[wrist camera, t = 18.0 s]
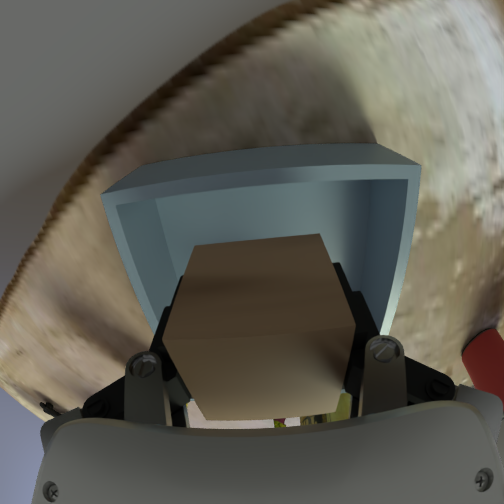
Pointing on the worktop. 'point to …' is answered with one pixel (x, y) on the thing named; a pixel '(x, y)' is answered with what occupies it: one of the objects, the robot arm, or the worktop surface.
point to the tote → (270, 214)
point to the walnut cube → (261, 329)
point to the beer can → (486, 363)
